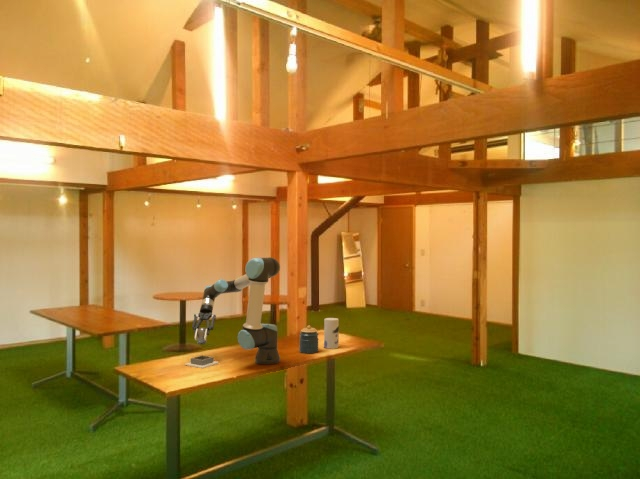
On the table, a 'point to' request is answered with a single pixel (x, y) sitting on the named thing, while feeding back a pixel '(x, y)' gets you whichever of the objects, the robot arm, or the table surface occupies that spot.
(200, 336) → the glossy bronze cylinder
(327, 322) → the container
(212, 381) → the table surface
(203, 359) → the square socket
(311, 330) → the canister
